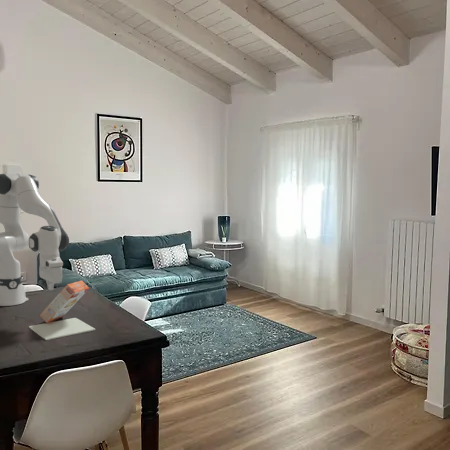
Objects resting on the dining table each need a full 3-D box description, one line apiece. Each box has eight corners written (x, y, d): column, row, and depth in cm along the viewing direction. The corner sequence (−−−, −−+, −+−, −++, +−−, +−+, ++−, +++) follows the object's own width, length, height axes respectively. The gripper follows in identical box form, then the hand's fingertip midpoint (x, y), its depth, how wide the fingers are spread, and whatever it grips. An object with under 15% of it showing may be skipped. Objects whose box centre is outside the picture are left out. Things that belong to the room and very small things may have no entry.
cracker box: (47, 324, 216) (75, 293, 213) (38, 315, 217) (66, 283, 214) (63, 318, 230) (90, 288, 227) (55, 309, 230) (81, 279, 227)
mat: (28, 327, 213) (28, 326, 213) (75, 318, 228) (75, 317, 227) (46, 340, 197) (46, 339, 197) (95, 330, 211) (95, 328, 211)
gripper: (35, 258, 226) (36, 286, 227) (50, 264, 210) (51, 294, 211) (48, 257, 230) (49, 285, 231) (64, 262, 214) (65, 292, 215)
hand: (50, 289), depth 221 cm, fingers closed
